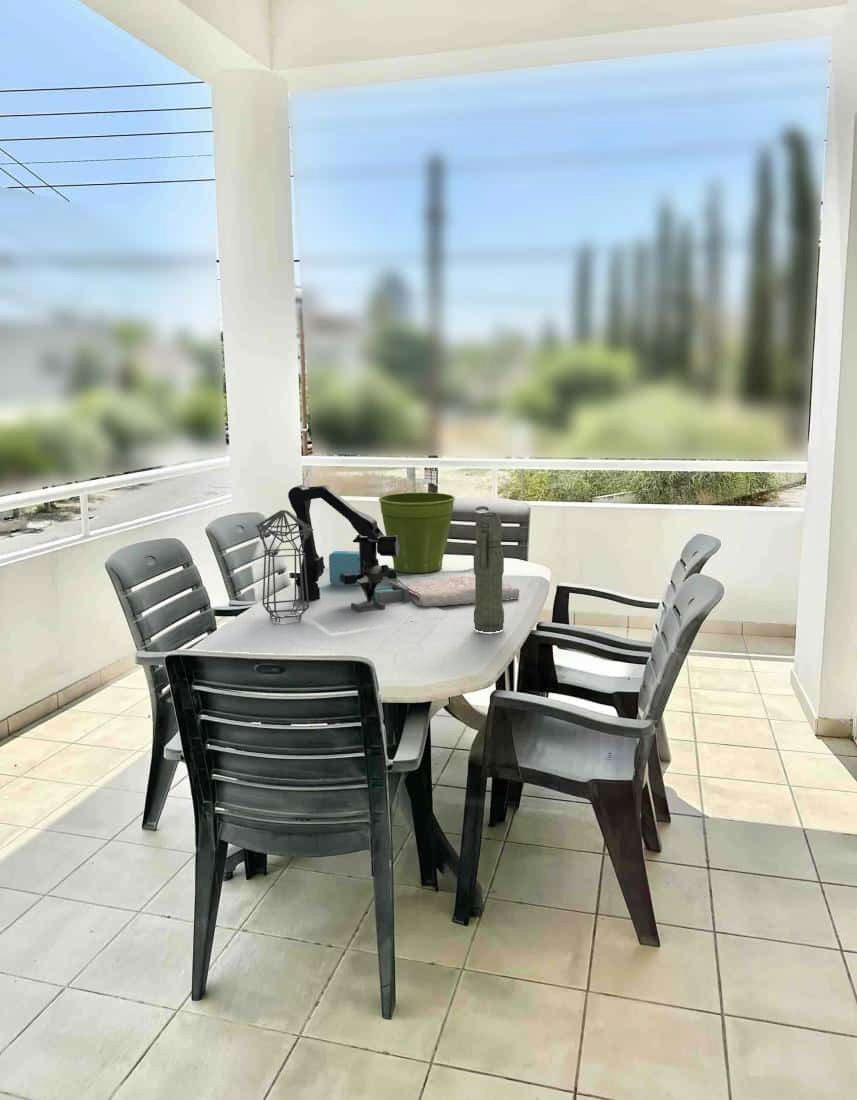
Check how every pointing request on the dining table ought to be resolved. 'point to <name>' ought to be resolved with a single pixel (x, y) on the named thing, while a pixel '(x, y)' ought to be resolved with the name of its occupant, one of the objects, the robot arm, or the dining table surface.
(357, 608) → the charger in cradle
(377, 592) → the plug
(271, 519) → the geometric lantern
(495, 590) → the flashlight
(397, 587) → the socket
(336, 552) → the data package
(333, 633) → the dining table surface
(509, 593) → the towel
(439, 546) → the plant pot
